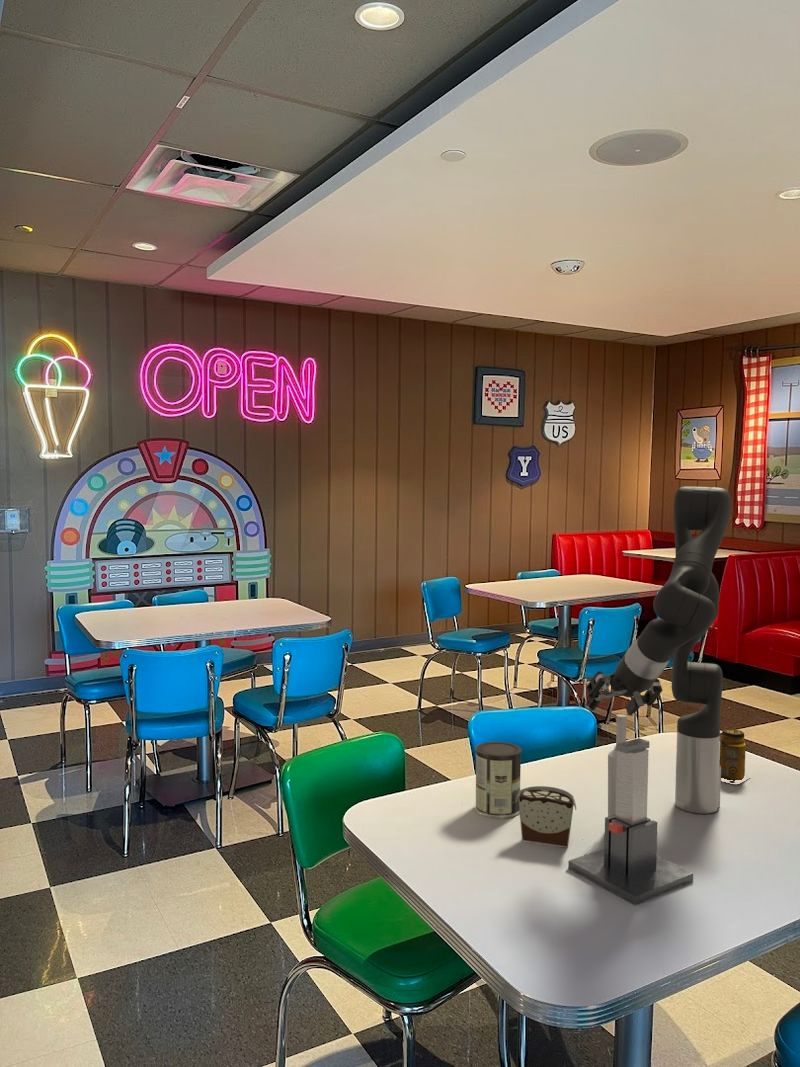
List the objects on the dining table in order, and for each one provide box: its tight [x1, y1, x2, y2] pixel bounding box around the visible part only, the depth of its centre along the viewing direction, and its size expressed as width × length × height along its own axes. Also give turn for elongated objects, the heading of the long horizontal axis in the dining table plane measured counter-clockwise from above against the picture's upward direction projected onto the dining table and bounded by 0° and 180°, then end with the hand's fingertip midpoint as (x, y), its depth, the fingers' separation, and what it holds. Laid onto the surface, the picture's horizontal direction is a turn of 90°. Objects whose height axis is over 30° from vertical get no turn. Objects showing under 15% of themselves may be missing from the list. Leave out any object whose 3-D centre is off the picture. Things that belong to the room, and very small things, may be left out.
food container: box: [516, 785, 577, 848], centre depth 164 cm, size 12×6×10 cm, turn 71°
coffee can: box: [475, 741, 522, 819], centre depth 179 cm, size 10×10×14 cm
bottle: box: [607, 713, 628, 817], centre depth 167 cm, size 5×5×25 cm
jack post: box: [615, 737, 650, 828], centre depth 148 cm, size 6×4×23 cm, turn 123°
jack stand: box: [567, 814, 694, 906], centre depth 149 cm, size 16×16×10 cm
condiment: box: [719, 728, 747, 781], centre depth 200 cm, size 7×8×12 cm
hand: (609, 709), depth 166 cm, fingers open, 8 cm apart
